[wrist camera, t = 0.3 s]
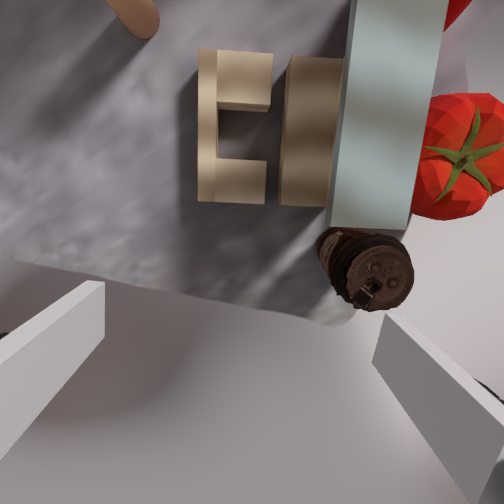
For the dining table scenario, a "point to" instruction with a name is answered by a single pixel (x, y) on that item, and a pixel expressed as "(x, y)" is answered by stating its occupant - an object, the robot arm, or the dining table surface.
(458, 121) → the tomato
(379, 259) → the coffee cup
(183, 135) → the dining table surface
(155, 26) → the peg
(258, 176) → the socket awning
